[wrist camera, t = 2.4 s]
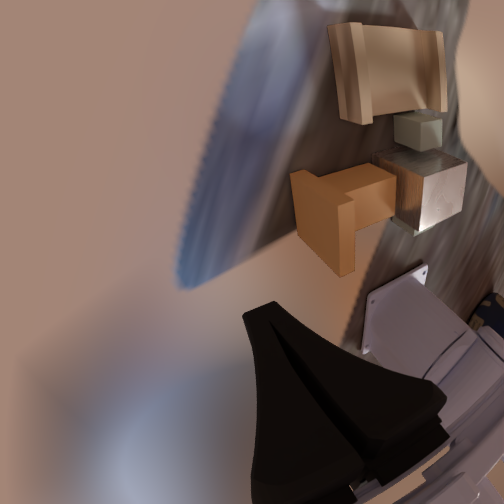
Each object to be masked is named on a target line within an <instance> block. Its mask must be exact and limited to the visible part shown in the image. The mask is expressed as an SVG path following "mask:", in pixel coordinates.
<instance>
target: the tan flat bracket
mask: <svg viewBox="0 0 504 504" xmlns="http://www.w3.org/2000/svg"><path fill="white" fill-rule="evenodd" d="M327 29H328V34H329V40H330V46H331V52H332V59H333V66H334V73H335V80H336V88H337V96H338V104H339V113H340V119H344V120H347V121H351V122H354V123H357V124H361V125H365V124H370V123H373V117H372V116H376V115H382V114H389V113H395V112H402V111H409V110H417V109H425V108H428V109H431V110H435V111H439V112H447V81H446V65H445V53H444V43H443V34H442V32H438V31H423V30H414V29H406V28H397V27H386V26H372V25H362V23H356V22H348V23H341V24H334V25H328V26H327Z"/></svg>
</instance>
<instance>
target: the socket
mask: <svg viewBox="0 0 504 504" xmlns="http://www.w3.org/2000/svg"><path fill="white" fill-rule="evenodd" d="M393 117H394V142H397V143H400V144H402V145H405V146H408V147H410V148H413V149H415V150H418V151H420V152H421V151H424V150H428V149H432V148H436V147H440V146H442V119H440V118H436V117H433V116H429V115H426V114H422V113H419V112H410V113H403V114H396V115H393ZM392 222H394V223H395V224H397V225H398V226H400V227H401V228H402V229H404V230H405V231H407V232H408V233H410V234H411V235H413V236H416V235H418V234H420V233H422V232H424V231H426V230H428V229H430V228H432V227H434V225H432V226H430V227H428V228H426V229H424V230H422V231H420V232H418V231H416V230H415V229H413V228H412V227H410V226H409V225H407V224H406V223H404V222H403V221H401V220H400V219H398V218H397V217H395V216H393V219H392Z"/></svg>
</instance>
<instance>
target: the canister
mask: <svg viewBox="0 0 504 504" xmlns="http://www.w3.org/2000/svg"><path fill="white" fill-rule="evenodd" d="M468 326H469V327H470V328H471V329H473V330H475V331H477V330H478V329H479V327H480V326H482V327H484V326H489V327H491V328H492V329H493V330H494V331H495V332H496V333H497V334H498V335H499V336H501V337H502V338H503V339H504V298H503V297H502V296H501V295H499V294H498V293H492V294H490V295H489V296H487V297H486V298H485V299H484V300H483V302H482V303H481V304H480V305H479V307H478V308H477V310H476V311H475V313H474V314H473V316H472V318H471V319H470V321H469V324H468Z"/></svg>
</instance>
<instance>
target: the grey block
mask: <svg viewBox="0 0 504 504" xmlns="http://www.w3.org/2000/svg"><path fill="white" fill-rule="evenodd" d="M371 159H372V165H374V166H377V167H379V168H381V169H383V170H385V171H387V172H389V173H391V174H393V175H395V176H396V202H395V215H394V216H395V217H397V218H398V219H400V220H401V221H403V222H404V223H406V224H407V225H409V226H410V227H412V228H413V229H415V230H416V231H418V232H420V231H422V230H424V229H426V228H428V227H430V226H432V225H434V224H436V223H438V222H440V221H442V220H444V219H446V218H448V217H450V216H452V215H454V214H456V213H458V212H460V211H461V209H462V203H463V196H464V189H465V181H466V173H467V163H468V162H465V161H463V160H461V159H459V158H456V157H454V156H452V155H449V154H447V153H445V152H442V151H440V150H437V149H435V148H432V149H428V150H424V151H421V152H420V151H418V150H415V149H413V148H410V147H408V146H405V145H403V146H399V147H395V148H391V149H387V150H383V151H379V152H375V153H371Z"/></svg>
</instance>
